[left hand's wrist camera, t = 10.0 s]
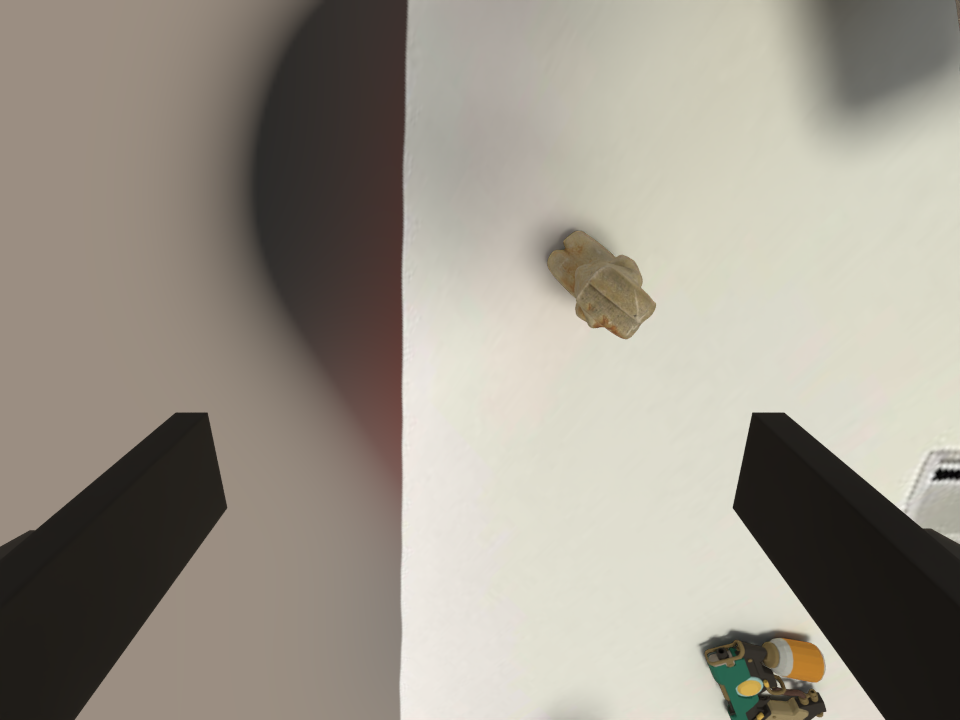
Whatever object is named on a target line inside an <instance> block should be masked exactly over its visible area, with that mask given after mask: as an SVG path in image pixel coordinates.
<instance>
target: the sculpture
mask: <svg viewBox="0 0 960 720" xmlns="http://www.w3.org/2000/svg"><path fill="white" fill-rule="evenodd" d="M564 246H565V249H564V250H555V251H553V252H552V253H551V255H550V256H549V258H548V262H547V264H548V268H549V270H550V271H551V273H552V274H553V275H554V277H555V278H556V279H557V280H558V281H559V282H560V283H561V284H562V285H563V287H564V288H565V289H566V290H567V291H568V292H569V293H570V294H571V295H573V296H574V297H575V298H576V302H577V303H576V307H575V310H576V315H577V316H578V317H579V318H581V319H582V320H584V321H586V322H587V323H588V325H589V326H590V327H591V328H599V327H605V328H606V329H607V330H609V331H610V332H612V333H613V334H615V335H616V336H618V337H620V338H623V339H628V338H630V337H632V335H633V334H634V333H635V332H636V331H637V330H638V328H639V326H640V325H641V324H642V323H643V322H644V321H645V320H646V319H648V318H649V317H650V316H651V315H652V314H653V312H654V310H655V308H656V303H655V302H654V301H653V300H652V299H651V298H650V296H649V295H648V294H647V293H646V292H645V291H644V290H643V289H642V288H641V286H642V282H643V281H642V276H641V273H640V271H639V268H638V266H637V264H636V263H635V261H634V260H632V259H630V258H629V257H627V256H624V255H619V256H618V257H615V256H614V255H613V254H611V253H610V252H609V251H608V250H607V249H606V248H604V247H603V246H602V245H601V244H600V243H598V242H597V241H596V240H594V239H593V238H592V237H590V236H589V235H587V234H586V233H584V232H582V231H575V232H573V233H572V234H571V235H570V236H568V237H567V238H566V239H565V240H564Z"/></svg>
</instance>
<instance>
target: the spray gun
mask: <svg viewBox="0 0 960 720" xmlns="http://www.w3.org/2000/svg"><path fill="white" fill-rule="evenodd" d="M737 643H738V645H739V646H737V650H736V649H734V648H732V647H734V646H736V644H737ZM727 648H729V650H728V649H727ZM715 651H716V654H711V655H710V656H709V657H707V655H708V654H709V653H711V652H715ZM705 657H706V660H707V663H708V665H709V668H710V670H711V673H712V675H713V677H714V679H715V680H716V682H718V683H719V685H720V688H721V690H722V693H723V695H724V697H725V699H726V700H728V703H729V705H728V707H727V708H728V713H729V716H730V718H731V720H811V719H812V718H814V717H815V716H817V717H822V716H823V712H826V708H825V704H824V701H823V700H822V698H821V696H820V694H819V693H818V692H816V691H815V690H814V689H810V690H809V693H808V694H805V693H804V692H802V691H800V690H796V689H786V688H785V685H784V683H783V681H782V679H781V678H780V677H779V676H777V675H774V674H773V672H772V671H774V672H775V673H776V674H778V675H780V676H783V677H788V678H793V679H798V680H803V681H808V682H819V681H820V680H821V679H822V678H823V676H824V674H825V660H824V657H823V654H822V652H821V651H820V650H819V649H818V647H817V646H815V645H814V644H812V643H808V642H802V641H796V640H790V639H785V638H775V639H772V640H770V641H769V642H765V643H764V644H763V645H762V647H761V646H757V645H753V644H749V643H745V642H741V641H739V640H735V641H734V642H733V643H731V644H727V645H723V646H719V647H715V648H712V649H708V650H706V651H705ZM761 661H763V662H764V664H765V665H766V666H767V667H768V668H767V667H765V666H763V665H761ZM770 668H771V669H772V670H771V669H770ZM775 679H776V680H778V681H779V683H780V685H781V688H778V687H777V683H776V680H775ZM770 688H771V689H772V690H771V689H770ZM765 690H767V691H768V692H769V693H770V694H772V695H788V696H798V697H792V698H790V699H789V700H788V701H776V700H770V697H768V696H767V697H766V698H764V697H762V698H760V697H758V695H760V694H761V693H763V692H764V691H765Z"/></svg>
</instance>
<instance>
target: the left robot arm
mask: <svg viewBox="0 0 960 720" xmlns="http://www.w3.org/2000/svg"><path fill="white" fill-rule="evenodd" d="M956 7H957V14H958V21H959V28H960V0H956ZM226 509H227V504H226V500H225V495H224V490H223V485H222V480H221V475H220V470H219V466H218V461H217V456H216V451H215V446H214V441H213V437H212V432H211V427H210V422H209V417H208V413H175V414H174V415H172V416H171V417H170V418H169V419H168V420H166V421H165V422H164V423H163V424H162V425H160V426H159V427H158V428H157V429H156V430H154V431H153V432H152V433H151V434H150V435H149V436H147V437H146V438H145V439H144V440H143V441H141V442H140V443H139V444H138V445H137V446H135V447H134V448H133V449H132V450H131V451H129V452H128V453H127V454H126V455H125V456H123V457H122V458H121V459H120V460H119V461H118V462H116V463H115V464H114V465H113V466H112V467H110V468H109V469H108V470H107V471H106V472H104V473H103V474H102V475H101V476H100V477H98V478H97V479H96V480H95V481H94V482H92V483H91V484H90V485H89V486H88V487H87V488H85V489H84V490H83V491H82V492H81V493H79V494H78V495H77V496H76V497H75V498H73V499H72V500H71V501H70V502H69V503H67V504H66V505H65V506H64V507H63V508H62V509H60V510H59V511H58V512H57V513H56V514H54V515H53V516H52V517H51V518H50V519H48V520H47V521H46V522H45V523H44V524H42V525H41V526H40V527H39V528H38V529H37V530H30V531H28V532H26V533H24V534H22V535H21V536H19V537H17V538H15V539H13V540H11V541H10V542H8V543H6V544H4V545H2V546H1V547H0V720H75V718H76V717H77V716H78V714H79V713H80V712H81V710H82V709H83V707H84V706H85V705H86V703H87V702H88V700H89V699H90V698H91V696H92V695H93V693H94V692H95V691H96V689H97V688H98V687H99V685H100V684H101V682H102V681H103V679H104V678H105V677H106V675H107V674H108V673H109V671H110V670H111V669H112V667H113V666H114V664H115V663H116V662H117V660H118V659H119V657H120V656H121V655H122V653H123V652H124V650H125V649H126V648H127V646H128V645H129V644H130V642H131V641H132V639H133V638H134V637H135V635H136V634H137V632H138V631H139V630H140V628H141V627H142V625H143V624H144V623H145V621H146V620H147V619H148V617H149V616H150V614H151V613H152V612H153V610H154V609H155V607H156V606H157V605H158V603H159V602H160V601H161V599H162V598H163V596H164V595H165V594H166V592H167V591H168V589H169V588H170V587H171V585H172V584H173V582H174V581H175V580H176V578H177V577H178V576H179V574H180V573H181V571H182V570H183V569H184V567H185V566H186V564H187V563H188V562H189V560H190V559H191V558H192V556H193V555H194V553H195V552H196V551H197V549H198V548H199V546H200V545H201V544H202V542H203V541H204V539H205V538H206V537H207V535H208V534H209V532H210V531H211V530H212V528H213V527H214V526H215V524H216V523H217V521H218V520H219V519H220V517H221V516H222V514H223V513H224V512H225V510H226ZM733 509H734V510H735V512H736V513H737V515H738V516H739V517H740V519H741V520H742V521H743V523H744V524H745V526H746V527H747V528H748V530H749V531H750V533H751V534H752V535H753V537H754V538H755V539H756V541H757V542H758V544H759V545H760V546H761V548H762V549H763V551H764V552H765V553H766V555H767V556H768V558H769V559H770V560H771V562H772V563H773V564H774V566H775V567H776V569H777V570H778V571H779V573H780V574H781V576H782V577H783V578H784V580H785V581H786V582H787V584H788V585H789V587H790V588H791V589H792V591H793V592H794V594H795V595H796V596H797V598H798V599H799V601H800V602H801V603H802V605H803V606H804V607H805V609H806V610H807V612H808V613H809V614H810V616H811V617H812V619H813V620H814V621H815V623H816V624H817V626H818V627H819V628H820V630H821V631H822V632H823V634H824V635H825V637H826V638H827V639H828V641H829V642H830V644H831V645H832V646H833V648H834V649H835V650H836V652H837V653H838V655H839V656H840V657H841V659H842V660H843V662H844V663H845V664H846V666H847V667H848V669H849V670H850V671H851V673H852V674H853V675H854V677H855V678H856V680H857V681H858V682H859V684H860V685H861V687H862V688H863V689H864V691H865V692H866V693H867V695H868V696H869V698H870V699H871V700H872V702H873V703H874V705H875V706H876V707H877V709H878V710H879V712H880V713H881V714H882V716H883V717H884V718H885V720H960V544H958V543H956V542H954V541H953V540H951V539H949V538H947V537H945V536H943V535H942V534H940V533H938V532H936V531H934V530H933V529H922V528H921V527H920V526H919V525H918V524H916V523H915V522H914V521H913V520H912V519H910V518H909V517H908V516H907V515H906V514H904V513H903V512H902V511H901V510H900V509H899V508H897V507H896V506H895V505H894V504H893V503H891V502H890V501H889V500H888V499H887V498H885V497H884V496H883V495H882V494H881V493H879V492H878V491H877V490H876V489H875V488H873V487H872V486H871V485H870V484H869V483H868V482H866V481H865V480H864V479H863V478H862V477H860V476H859V475H858V474H857V473H856V472H854V471H853V470H852V469H851V468H850V467H848V466H847V465H846V464H845V463H844V462H843V461H841V460H840V459H839V458H838V457H837V456H835V455H834V454H833V453H832V452H831V451H829V450H828V449H827V448H826V447H825V446H823V445H822V444H821V443H820V442H819V441H817V440H816V439H815V438H814V437H813V436H812V435H810V434H809V433H808V432H807V431H806V430H804V429H803V428H802V427H801V426H800V425H798V424H797V423H796V422H795V421H794V420H792V419H791V418H790V417H789V416H788V415H786V414H785V413H752V417H751V422H750V427H749V432H748V437H747V441H746V446H745V451H744V456H743V461H742V466H741V470H740V475H739V480H738V485H737V490H736V495H735V499H734V504H733Z"/></svg>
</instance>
